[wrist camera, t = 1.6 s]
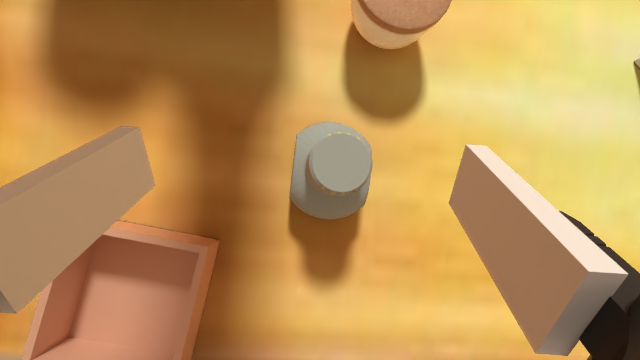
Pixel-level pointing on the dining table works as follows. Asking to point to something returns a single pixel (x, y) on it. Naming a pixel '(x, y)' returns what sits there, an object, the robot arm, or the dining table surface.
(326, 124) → the air freshener
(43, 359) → the pink open box
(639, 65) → the skincare box
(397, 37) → the lidded jar
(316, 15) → the dining table surface
